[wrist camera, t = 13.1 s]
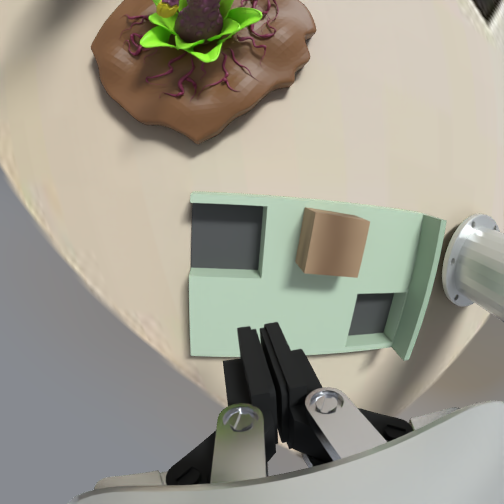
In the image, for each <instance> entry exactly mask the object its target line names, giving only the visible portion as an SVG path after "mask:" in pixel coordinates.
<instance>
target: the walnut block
mask: <svg viewBox="0 0 504 504" xmlns="http://www.w3.org/2000/svg"><path fill="white" fill-rule="evenodd" d="M369 226H370V221H368V220H366V219H363V218H361V217H358V216H355V215H350V214H344V213H338V212H332V211H326V210H320V209H314V208H307V207H305V209H304V215H303V221H302V227H301V232H300V238H299V244H298V249H297V255H296V260H295V262H296V264H297V265H298V266H299V267H300V269H301V270H302V271H303V272H304V273H306V274H317V275H329V276H341V277H353V278H358V274H359V270H360V266H361V262H362V258H363V253H364V249H365V245H366V240H367V235H368V231H369Z"/></svg>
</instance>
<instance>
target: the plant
mask: <svg viewBox="0 0 504 504" xmlns="http://www.w3.org/2000/svg"><path fill="white" fill-rule="evenodd" d="M315 32H316V26H315V23H314V20H313V18H312V15H311V13H310V12H309V10H308V9H307V7H306V6H305V5H304V4H303V3H302V2H300V1H299V0H124V1H123V2H122V3H121V4H120V5H119V6H118V7H117V8H116V9H115V11H114V12H113V13H112V14H111V15H110V16H109V18H108V19H107V20H106V21H105V23H104V24H103V26H102V27H101V29H100V30H99V32H98V34H97V36H96V37H95V39H94V41H93V43H92V45H91V50H92V52H93V54H94V56H95V59H96V61H97V64H98V68H99V75H100V80H101V83H102V85H103V86H104V88H105V90H106V91H107V93H108V94H109V96H110V97H111V98H113V99H114V100H115V101H116V102H117V103H118V104H120V105H121V106H122V107H123V108H124V109H125V110H126V111H127V112H128V113H129V114H130V115H131V116H133V117H134V118H135V119H136V120H138V121H139V122H141V123H143V124H146V125H160V126H165V127H168V128H171V129H173V130H175V131H177V132H179V133H181V134H183V135H185V136H187V137H188V138H189V139H191V140H192V141H193V142H195V143H196V144H200V143H202V142H204V141H206V140H208V139H210V138H212V137H215V136H217V135H218V134H220V133H221V132H222V131H223V129H224V128H225V127H226V126H227V125H228V124H229V123H230V122H231V121H233V120H234V119H236V118H237V117H239V116H241V115H244V114H246V113H247V112H249V111H250V110H251V109H252V108H254V107H255V106H256V105H257V103H258V102H259V101H261V100H262V99H263V98H264V97H265V96H266V95H267V94H268V93H269V92H271V91H273V90H276V89H280V88H287V87H290V86H291V85H292V84H293V83H294V81H295V72H296V71H298V70H299V69H301V68H303V67H304V65H305V64H306V63H307V62H308V61H309V59H310V53H309V51H308V48H307V45H306V43H305V40H308V39H310V38H311V37H312V36H313V35H314V34H315Z"/></svg>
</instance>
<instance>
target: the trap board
mask: <svg viewBox="0 0 504 504" xmlns="http://www.w3.org/2000/svg"><path fill="white" fill-rule="evenodd" d="M190 203H193V208H192V243H191V270H190V274H189V319H190V349H191V356H211V357H240V349H239V341H238V333H237V328H239V327H247V326H250V327H251V329H256V330H257V334H258V337H259V340H260V328H264V324H267V323H274V322H278V323H279V326H280V328H281V330H282V332H283V334H284V336H285V339H286V341H287V343H288V345H289V347H290V349H291V350H297V349H302V350H303V351H304V353H305V355H319V354H332V353H344V352H354V351H364V350H373V349H381V348H388V347H392V348H393V349H394V350H395V351H396V353H397V354H398V355H399V356H400V357H401V358H402V359H403V361H404V360H409V358H410V355H411V353H412V350H413V347H414V345H415V342H416V339H417V336H418V333H419V330H420V327H421V324H422V321H423V318H424V315H425V312H426V309H427V305H428V302H429V298H430V295H431V291H432V287H433V283H434V280H435V276H436V271H437V267H438V263H439V258H440V254H441V249H442V244H443V238H444V233H445V227H446V220H443V219H439V218H436V217H433V216H430V215H426V214H423V213H420V212H416V211H410V210H403V209H396V208H389V207H381V206H373V205H365V204H357V203H348V202H339V201H329V200H319V199H308V198H296V197H284V196H271V195H256V194H239V193H219V192H194V191H193V192H192V193H191V198H190ZM305 207H307V208H314V209H320V210H326V211H332V212H338V213H344V214H350V215H355V216H358V217H361V218H363V219H366V220H368V221H370V226H369V231H368V235H367V240H366V245H365V249H364V253H363V258H362V262H361V266H360V270H359V274H358V278H353V277H341V276H329V275H317V274H306V273H304V272H303V271H302V270H301V269H300V267H299V266H298V265H297V264H296V262H295V260H296V255H297V249H298V244H299V238H300V232H301V227H302V221H303V215H304V209H305ZM260 343H261V341H260Z"/></svg>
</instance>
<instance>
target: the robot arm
mask: <svg viewBox="0 0 504 504" xmlns="http://www.w3.org/2000/svg"><path fill="white" fill-rule="evenodd" d="M442 283H443V289H444V292H445V294H446V296H447V298H448V299H449V300H450V301H451V302H453V303H454V304H456V305H457V306H462V307H463V306H469V305H471V304H473V303H476V304H477V305H479V306H480V307H482V308H483V309H485V310H486V311H488V312H489V313H491V314H492V315H494V316H496V317H497V318H498V319H500V320H501V321H503V322H504V233H501V232H500V231H499V228H498V225H497V224H496V222H495V221H494V220H493V219H492V218H491V217H490V216H487V215H484V214H480V213H479V214H473V215H471V216H469V217H468V218H466V219H465V220H464V221H463V222H462V223H461V224H460V225H459V227H458V228H457V230H456V231H455V233H454V234H453V236H452V238H451V240H450V242H449V245H448V248H447V250H446V254H445V258H444V262H443V269H442ZM237 333H238V341H239V349H240V357H241V359H234V360H226V361H223V366H224V375H225V384H226V392H227V400H228V407H226V408H225V409H223V411H222V412H221V413H220V414H219V417H218V422H217V429H216V431H215V432H214V433H213V434H211V435H210V436H209V437H208V438H207V439H205V440H204V441H203V442H202V443H201V444H199V446H197V447H196V448H195V449H194V450H192V451H191V452H190V453H189V454H187V455H186V456H185V457H184V458H182V459H181V460H180V461H179V462H177V463H176V464H175V465H173V466H172V467H171V469H169V471H167V472H162V473H160V472H159V471H152V472H146V473H140V474H133V475H124V476H115V477H107V478H104V479H102V480H100V481H98V482H97V484H96V485H95V487H94V490H92V491H88V492H85V493H82V494H80V495H77V496H75V497H74V498H72V499H71V500H70V501H69V502H68V504H504V402H503V401H485V402H480V403H476V404H472V405H469V406H466V407H463V408H456V407H455V408H449V409H445V410H441V411H438V412H434V413H430V414H427V415H422V416H418V417H414V418H411V419H410V420H409V421H408V422H406V421H404V420H402V419H398V418H394V417H390V416H386V415H382V414H378V413H374V412H370V411H367V410H363V409H359V408H357V407H356V406H355V405H354V404H353V403H352V401H351V400H350V399H349V398H348V397H347V396H346V395H345V394H344V393H343V392H342V391H340V390H338V389H335V388H330V387H327V388H322V386H321V384H320V382H319V380H318V378H317V376H316V374H315V372H314V370H313V368H312V366H311V365H310V363H309V361H308V359H307V357H306V355H305V353H304V351H303V350H302V349H297V350H291V349H290V347H289V345H288V343H287V341H286V339H285V336H284V334H283V332H282V330H281V328H280V326H279V323H278V322H274V323H267V324H264V328H260V340H259V337H258V334H257V330H256V329H251V327H250V326H247V327H239V328H237ZM260 341H261V343H260ZM277 428H278V431H277ZM278 432H279V435H280V438H281V441H282V443H284V442H287V444H288V447H289V449H291V448H293V449H295V450H297V451H300V452H302V456H303V459H304V461H305V462H306V464H307V466H308V467H309V468H306V469H302V470H298V471H294V472H289V473H284V474H279V475H274V476H268V464H267V462H268V461H269V460H270V459H271V457H272V456H273V455H274V454H275V453H276V445H275V444H278Z"/></svg>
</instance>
